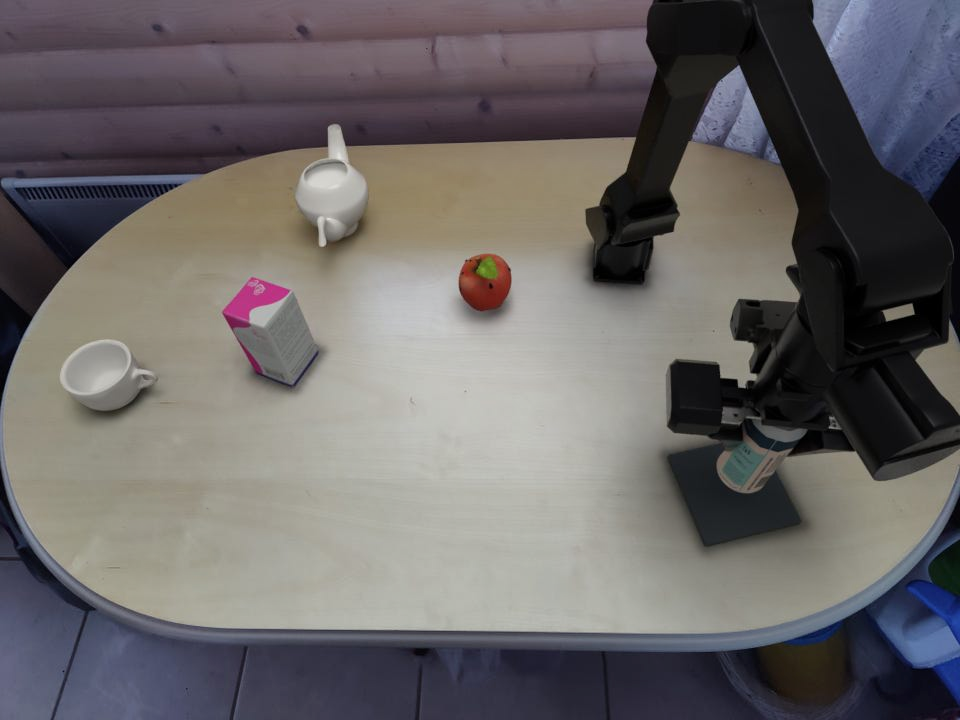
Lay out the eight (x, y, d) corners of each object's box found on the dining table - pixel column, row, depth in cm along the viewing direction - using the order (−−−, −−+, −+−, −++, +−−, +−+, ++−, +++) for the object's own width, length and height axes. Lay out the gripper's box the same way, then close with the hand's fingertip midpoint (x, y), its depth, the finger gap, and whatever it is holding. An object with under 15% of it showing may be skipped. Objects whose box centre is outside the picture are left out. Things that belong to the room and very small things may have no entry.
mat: (704, 547, 67) (706, 545, 66) (667, 457, 72) (668, 454, 72) (800, 523, 68) (802, 521, 67) (755, 436, 73) (757, 434, 73)
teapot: (297, 281, 89) (276, 230, 81) (316, 178, 100) (299, 125, 93) (369, 278, 89) (355, 227, 81) (381, 175, 100) (369, 121, 92)
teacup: (75, 419, 79) (48, 395, 74) (98, 364, 83) (75, 338, 79) (158, 420, 78) (136, 396, 74) (178, 364, 82) (158, 338, 78)
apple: (447, 301, 86) (439, 245, 78) (488, 273, 88) (484, 216, 80) (487, 337, 82) (484, 283, 74) (528, 306, 85) (529, 251, 76)
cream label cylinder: (767, 458, 67) (815, 395, 57) (762, 501, 65) (811, 443, 55) (718, 444, 68) (757, 379, 58) (711, 486, 66) (750, 426, 56)
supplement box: (320, 350, 83) (294, 289, 73) (293, 389, 80) (263, 330, 70) (281, 335, 84) (251, 274, 75) (253, 372, 81) (218, 313, 72)
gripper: (927, 278, 53) (847, 383, 66) (682, 263, 55) (651, 368, 68) (964, 401, 47) (868, 491, 60) (687, 379, 49) (652, 470, 62)
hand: (755, 449), depth 63 cm, fingers closed on cream label cylinder, 5 cm apart
